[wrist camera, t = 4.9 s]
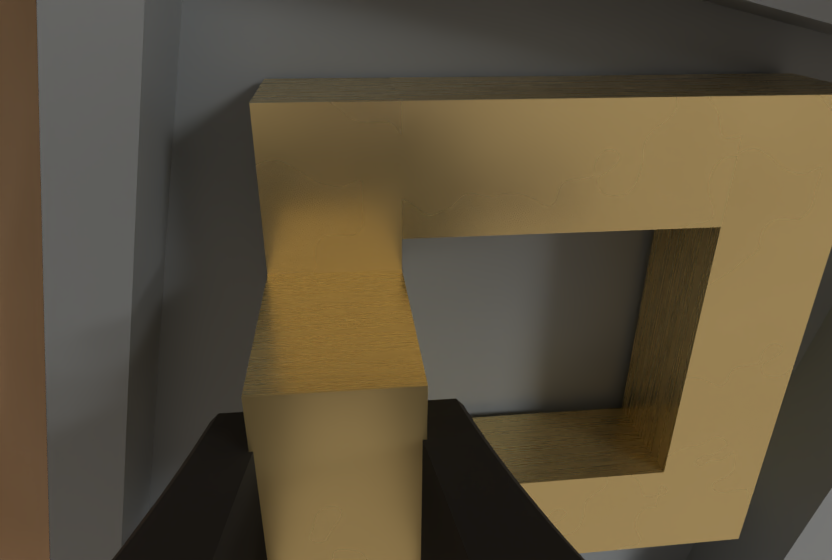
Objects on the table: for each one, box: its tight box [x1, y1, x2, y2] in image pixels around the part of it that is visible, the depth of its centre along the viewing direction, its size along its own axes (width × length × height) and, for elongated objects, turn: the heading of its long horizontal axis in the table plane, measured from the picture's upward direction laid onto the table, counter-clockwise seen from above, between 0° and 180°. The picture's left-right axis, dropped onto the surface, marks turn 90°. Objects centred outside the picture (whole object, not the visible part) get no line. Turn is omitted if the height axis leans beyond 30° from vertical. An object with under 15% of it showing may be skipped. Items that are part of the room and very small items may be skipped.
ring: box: [241, 73, 832, 560], centre depth 10 cm, size 9×9×5 cm
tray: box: [36, 0, 832, 560], centre depth 13 cm, size 16×16×3 cm
